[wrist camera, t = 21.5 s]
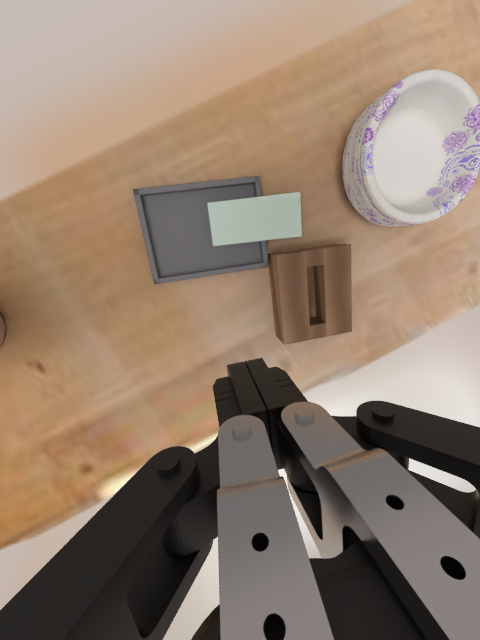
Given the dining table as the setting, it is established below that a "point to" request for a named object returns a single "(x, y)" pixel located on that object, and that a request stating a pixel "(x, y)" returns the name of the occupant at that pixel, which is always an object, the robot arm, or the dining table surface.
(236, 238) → the pale green rectangular block
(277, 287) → the walnut slotted block
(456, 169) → the paper bowls
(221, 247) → the charcoal tray
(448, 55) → the dining table surface
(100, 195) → the dining table surface
